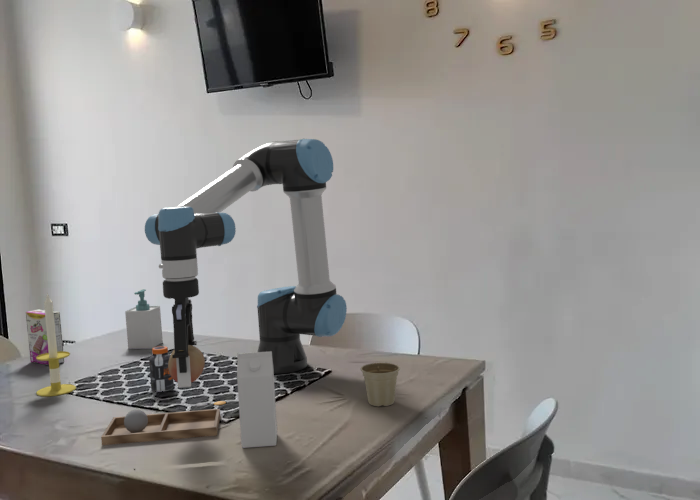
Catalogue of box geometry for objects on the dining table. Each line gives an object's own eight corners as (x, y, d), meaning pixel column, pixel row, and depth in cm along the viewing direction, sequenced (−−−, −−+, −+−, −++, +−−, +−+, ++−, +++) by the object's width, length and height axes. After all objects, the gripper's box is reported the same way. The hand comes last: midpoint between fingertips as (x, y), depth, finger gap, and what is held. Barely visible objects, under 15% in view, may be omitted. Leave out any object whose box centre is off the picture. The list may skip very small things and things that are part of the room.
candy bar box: (29, 362, 223) (24, 311, 221) (43, 358, 227) (38, 308, 225) (51, 366, 217) (46, 314, 215) (65, 362, 221) (60, 311, 219)
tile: (232, 399, 176) (232, 397, 176) (230, 408, 169) (230, 406, 169) (191, 403, 175) (191, 401, 175) (188, 412, 168) (188, 410, 168)
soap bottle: (127, 349, 235) (123, 292, 233) (139, 342, 244) (135, 288, 242) (151, 349, 234) (147, 292, 232) (163, 342, 242) (158, 288, 240)
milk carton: (243, 436, 151) (238, 349, 149) (277, 433, 151) (272, 347, 149) (241, 448, 144) (235, 358, 142) (276, 446, 144) (271, 355, 142)
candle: (84, 387, 193) (75, 290, 190) (55, 398, 184) (45, 296, 181) (57, 383, 197) (49, 289, 194) (27, 394, 188) (18, 295, 185)
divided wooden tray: (220, 418, 162) (219, 408, 162) (217, 437, 150) (216, 427, 150) (114, 427, 160) (113, 417, 159) (102, 447, 148) (101, 436, 147)
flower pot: (405, 397, 172) (404, 363, 171) (395, 410, 163) (394, 374, 162) (368, 395, 175) (367, 361, 174) (356, 407, 166) (355, 372, 165)
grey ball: (150, 427, 157) (148, 405, 156) (146, 435, 152) (144, 412, 151) (127, 429, 156) (125, 407, 156) (122, 437, 151) (121, 414, 151)
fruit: (161, 386, 152) (158, 349, 151) (183, 375, 160) (180, 341, 159) (192, 388, 149) (189, 351, 148) (213, 378, 157) (210, 342, 156)
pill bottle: (167, 392, 184) (164, 350, 183) (147, 392, 186) (143, 350, 184) (177, 385, 190) (174, 344, 189) (157, 385, 191) (154, 344, 190)
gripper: (168, 273, 162) (175, 369, 164) (155, 286, 141) (162, 396, 143) (202, 271, 163) (208, 367, 165) (193, 284, 142) (200, 393, 144)
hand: (186, 380), depth 154 cm, fingers closed on fruit, 8 cm apart
